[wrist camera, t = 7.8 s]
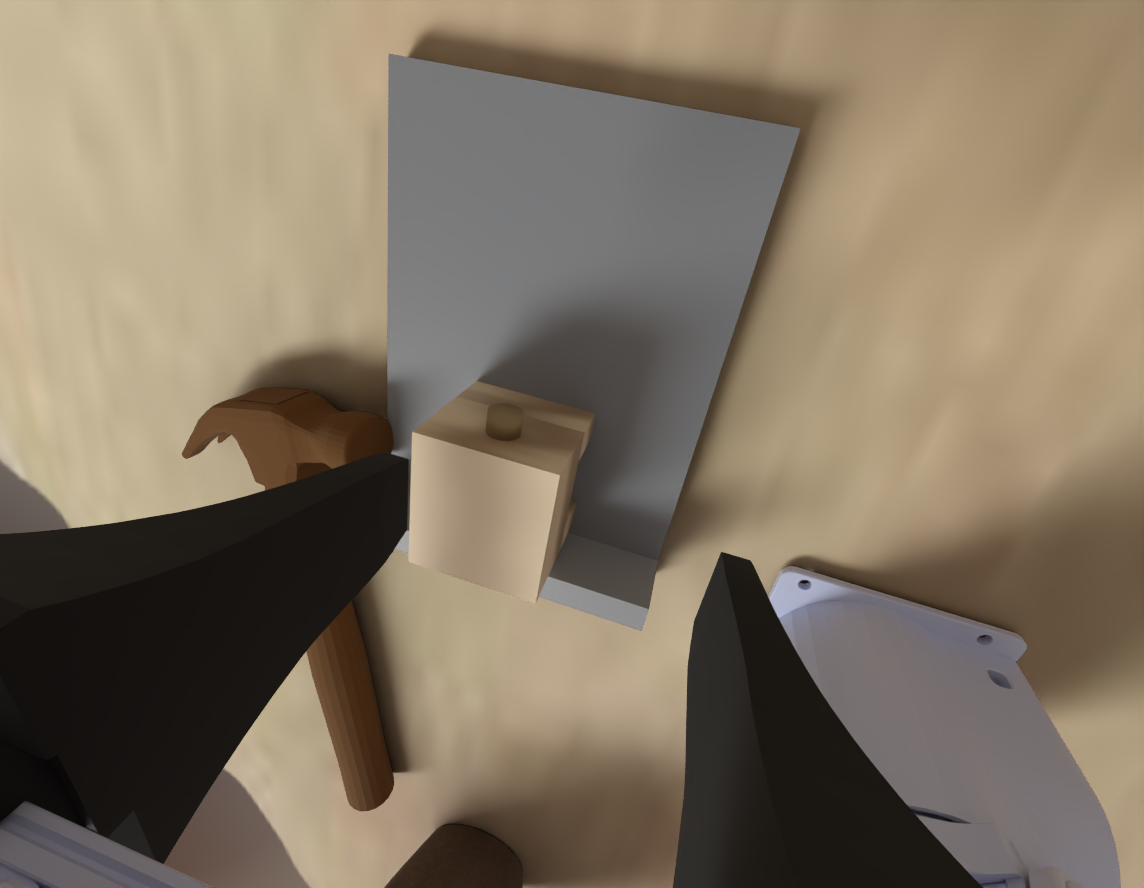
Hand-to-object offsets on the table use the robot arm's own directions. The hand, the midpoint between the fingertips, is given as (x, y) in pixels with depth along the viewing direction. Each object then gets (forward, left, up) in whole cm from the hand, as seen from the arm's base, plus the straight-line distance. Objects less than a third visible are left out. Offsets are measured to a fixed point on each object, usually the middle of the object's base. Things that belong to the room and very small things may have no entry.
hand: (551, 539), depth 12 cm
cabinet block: (+3, +4, -9) cm, 11 cm away
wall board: (+3, 0, -10) cm, 11 cm away
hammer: (+14, +19, -11) cm, 26 cm away
